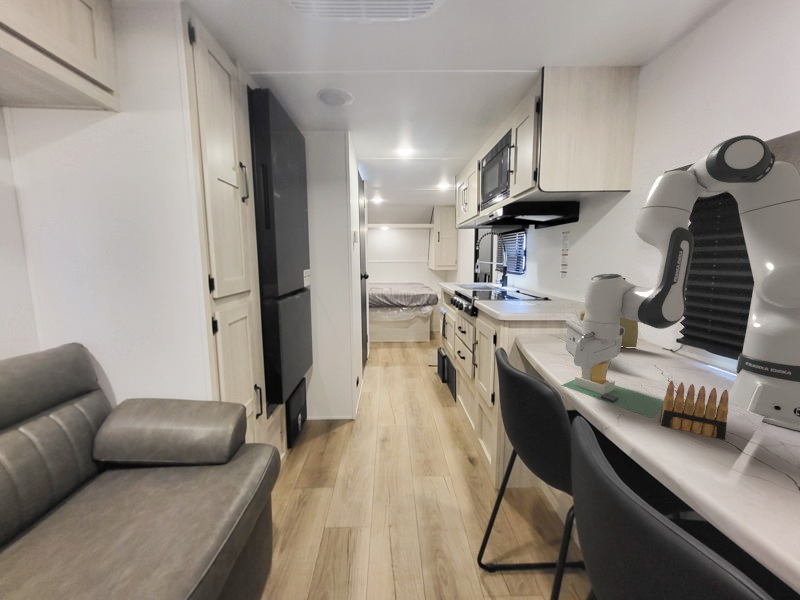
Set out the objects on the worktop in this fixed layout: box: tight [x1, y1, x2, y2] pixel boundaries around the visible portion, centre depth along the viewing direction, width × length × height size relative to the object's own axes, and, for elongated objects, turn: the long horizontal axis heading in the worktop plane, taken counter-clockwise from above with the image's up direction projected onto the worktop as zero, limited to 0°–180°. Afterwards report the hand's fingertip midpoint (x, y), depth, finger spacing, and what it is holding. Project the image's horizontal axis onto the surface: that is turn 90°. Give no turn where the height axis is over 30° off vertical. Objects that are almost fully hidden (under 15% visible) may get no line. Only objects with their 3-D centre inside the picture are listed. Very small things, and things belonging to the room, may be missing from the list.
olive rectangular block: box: [579, 309, 639, 348], centre depth 138 cm, size 22×10×15 cm, turn 60°
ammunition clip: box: [659, 380, 729, 441], centre depth 68 cm, size 11×2×12 cm, turn 59°
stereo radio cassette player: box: [565, 303, 583, 356], centre depth 121 cm, size 21×8×20 cm, turn 168°
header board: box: [561, 375, 664, 419], centre depth 87 cm, size 22×14×4 cm, turn 33°
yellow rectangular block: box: [581, 361, 609, 384], centre depth 91 cm, size 6×4×8 cm, turn 34°
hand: (595, 375), depth 90 cm, fingers open, 8 cm apart
